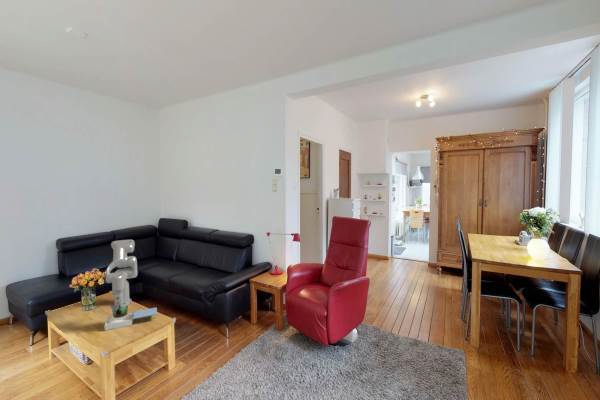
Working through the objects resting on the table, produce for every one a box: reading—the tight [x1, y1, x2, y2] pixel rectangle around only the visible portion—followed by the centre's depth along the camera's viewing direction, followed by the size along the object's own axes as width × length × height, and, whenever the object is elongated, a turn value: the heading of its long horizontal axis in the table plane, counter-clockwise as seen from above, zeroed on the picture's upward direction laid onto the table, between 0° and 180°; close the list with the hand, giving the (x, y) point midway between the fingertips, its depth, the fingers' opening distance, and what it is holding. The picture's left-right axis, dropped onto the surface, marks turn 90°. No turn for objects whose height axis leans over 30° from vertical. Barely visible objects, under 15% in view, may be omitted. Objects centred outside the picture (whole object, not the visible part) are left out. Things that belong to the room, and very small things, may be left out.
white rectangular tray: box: [104, 312, 134, 332], centre depth 213 cm, size 12×17×4 cm
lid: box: [131, 307, 158, 320], centre depth 221 cm, size 12×17×3 cm
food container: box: [110, 302, 130, 318], centre depth 212 cm, size 12×6×10 cm, turn 106°
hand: (119, 313), depth 213 cm, fingers closed on food container, 5 cm apart
